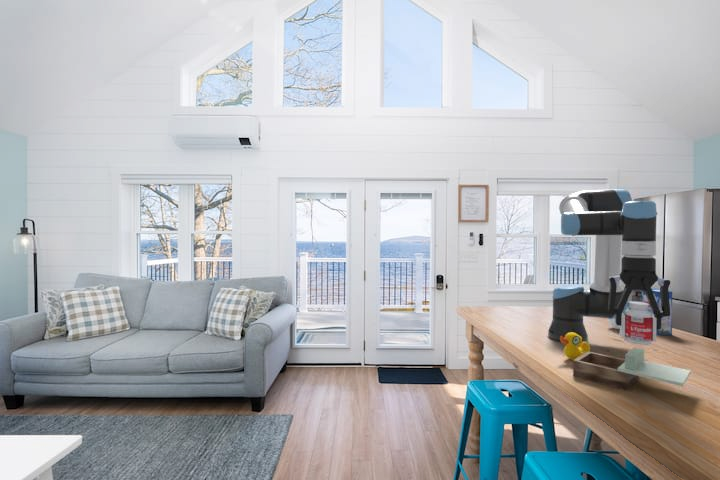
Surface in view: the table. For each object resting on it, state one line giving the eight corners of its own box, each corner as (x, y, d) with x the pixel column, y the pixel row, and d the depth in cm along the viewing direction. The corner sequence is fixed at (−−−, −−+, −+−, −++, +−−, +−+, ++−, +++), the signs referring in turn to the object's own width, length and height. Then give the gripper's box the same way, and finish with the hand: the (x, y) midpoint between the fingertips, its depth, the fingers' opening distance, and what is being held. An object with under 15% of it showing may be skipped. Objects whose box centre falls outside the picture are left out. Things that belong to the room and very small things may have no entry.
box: (573, 375, 112) (573, 360, 112) (587, 365, 122) (588, 351, 121) (626, 390, 102) (626, 373, 102) (638, 378, 111) (638, 362, 111)
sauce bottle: (612, 330, 169) (612, 293, 169) (603, 326, 177) (603, 290, 177) (630, 331, 168) (630, 293, 168) (620, 327, 175) (621, 291, 175)
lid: (617, 370, 103) (617, 354, 103) (629, 360, 113) (629, 345, 113) (682, 386, 93) (683, 368, 93) (690, 373, 102) (690, 356, 102)
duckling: (565, 363, 124) (565, 335, 124) (555, 358, 129) (555, 331, 129) (594, 362, 125) (594, 334, 125) (582, 356, 131) (583, 330, 131)
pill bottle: (628, 344, 96) (629, 304, 96) (620, 337, 102) (620, 300, 102) (656, 346, 94) (656, 305, 94) (645, 339, 100) (646, 301, 100)
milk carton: (672, 334, 161) (672, 291, 161) (658, 334, 161) (658, 291, 161) (654, 329, 171) (654, 288, 171) (641, 329, 171) (641, 288, 171)
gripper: (599, 256, 99) (598, 337, 100) (688, 258, 90) (687, 347, 91) (595, 255, 106) (594, 331, 106) (678, 256, 97) (677, 339, 97)
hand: (637, 338), depth 98 cm, fingers closed on pill bottle, 6 cm apart
